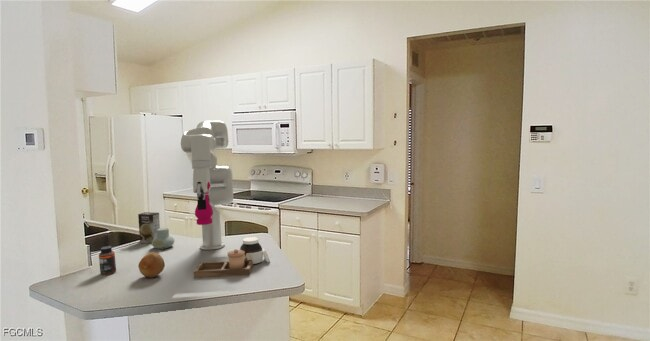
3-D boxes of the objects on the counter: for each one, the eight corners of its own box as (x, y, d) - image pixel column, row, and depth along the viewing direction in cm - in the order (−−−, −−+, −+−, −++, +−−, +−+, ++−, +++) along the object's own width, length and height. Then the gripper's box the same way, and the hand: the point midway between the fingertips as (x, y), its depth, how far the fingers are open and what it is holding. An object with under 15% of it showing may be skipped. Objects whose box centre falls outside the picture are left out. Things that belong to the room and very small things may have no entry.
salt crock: (229, 268, 160) (228, 247, 159) (246, 267, 160) (245, 246, 160) (227, 274, 153) (225, 252, 152) (244, 273, 153) (243, 251, 153)
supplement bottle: (113, 269, 166) (112, 244, 165) (118, 272, 161) (116, 247, 160) (98, 273, 161) (96, 247, 160) (102, 276, 157) (100, 250, 156)
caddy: (201, 270, 161) (200, 262, 161) (252, 268, 163) (252, 260, 162) (194, 280, 150) (193, 271, 150) (249, 277, 152) (249, 268, 151)
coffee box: (139, 242, 208) (137, 214, 207) (146, 239, 215) (144, 211, 213) (154, 243, 207) (152, 214, 205) (161, 240, 213) (159, 212, 212)
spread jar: (237, 264, 168) (236, 239, 167) (258, 258, 176) (257, 234, 175) (254, 270, 160) (252, 243, 159) (274, 263, 168) (273, 238, 167)
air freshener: (149, 249, 195) (148, 230, 194) (159, 244, 203) (158, 226, 202) (167, 250, 193) (166, 231, 192) (177, 245, 201) (176, 227, 200)
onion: (139, 274, 159) (138, 251, 158) (165, 270, 162) (163, 248, 162) (138, 282, 150) (136, 258, 149) (165, 278, 154) (163, 254, 153)
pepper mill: (207, 225, 152) (205, 176, 150) (191, 225, 153) (189, 176, 152) (216, 221, 159) (214, 174, 157) (201, 221, 160) (199, 175, 159)
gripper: (198, 163, 163) (200, 205, 164) (186, 166, 146) (188, 212, 147) (215, 163, 163) (217, 204, 164) (205, 165, 146) (208, 211, 147)
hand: (203, 207), depth 156 cm, fingers closed on pepper mill, 5 cm apart
